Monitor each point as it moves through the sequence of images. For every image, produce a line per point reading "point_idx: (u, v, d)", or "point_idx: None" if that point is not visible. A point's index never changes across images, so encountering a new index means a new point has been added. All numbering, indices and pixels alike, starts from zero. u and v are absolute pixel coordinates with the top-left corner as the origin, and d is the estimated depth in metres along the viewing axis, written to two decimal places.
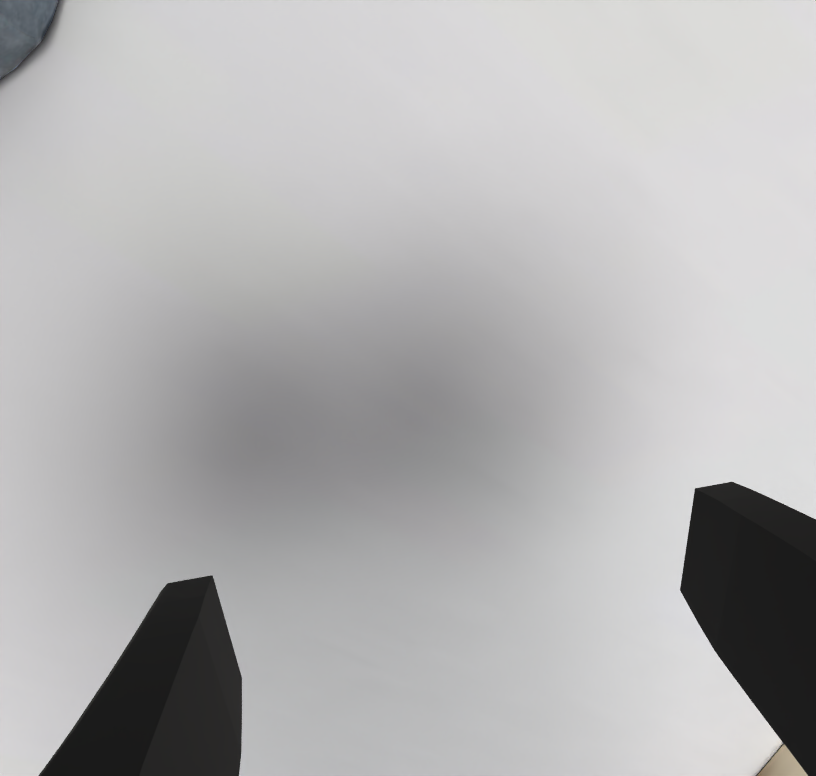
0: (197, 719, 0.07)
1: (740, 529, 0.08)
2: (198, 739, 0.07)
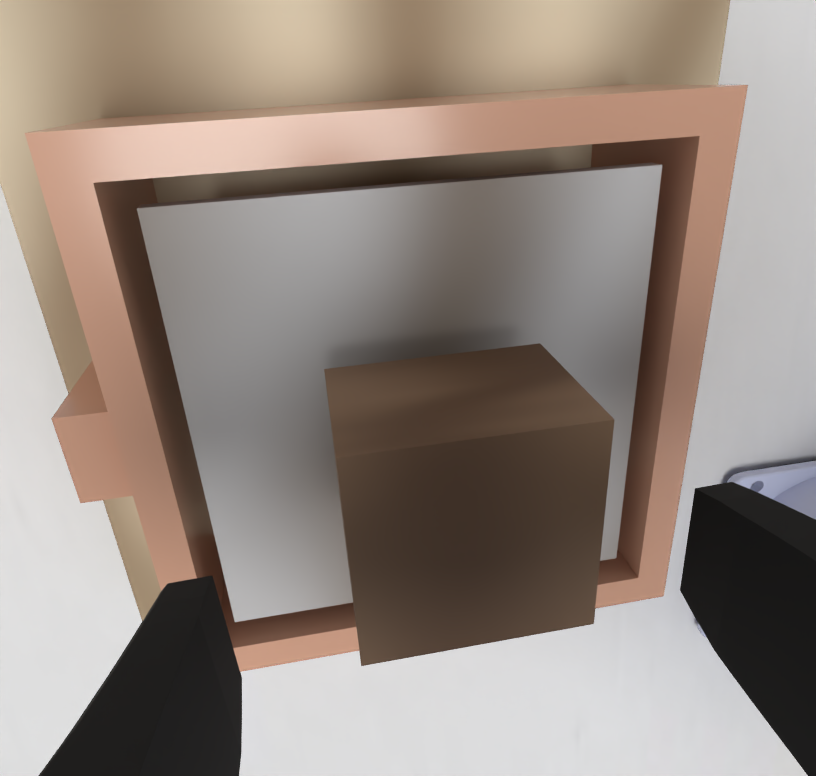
0: (197, 719, 0.07)
1: (740, 529, 0.08)
2: (198, 739, 0.07)
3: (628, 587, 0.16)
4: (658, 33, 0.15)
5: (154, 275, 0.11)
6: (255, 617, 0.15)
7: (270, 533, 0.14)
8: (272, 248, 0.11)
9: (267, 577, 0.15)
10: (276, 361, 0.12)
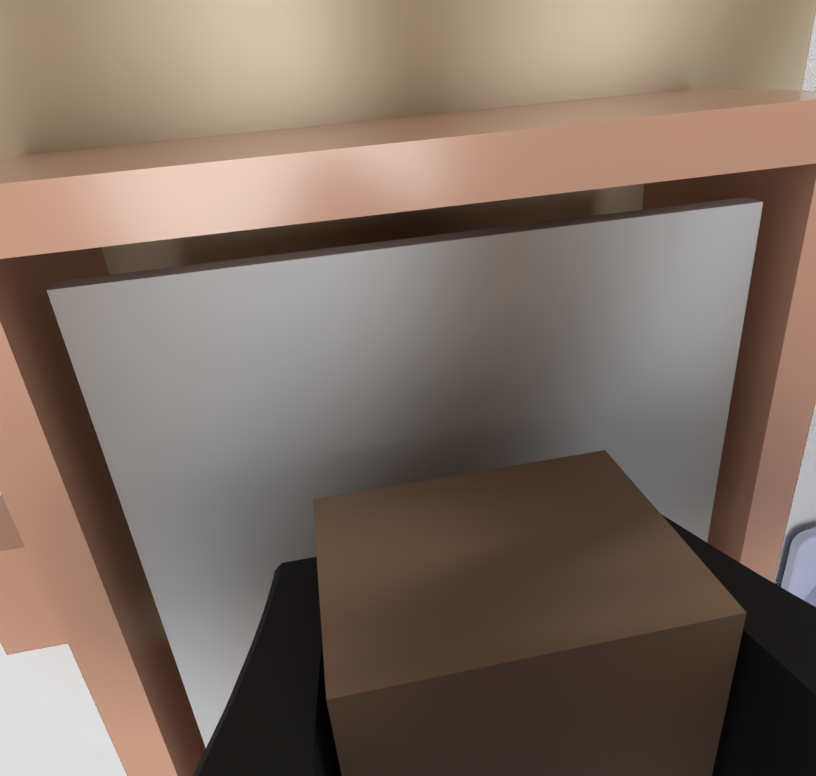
0: None
1: None
2: None
3: None
4: (730, 23, 0.12)
5: (79, 374, 0.08)
6: None
7: None
8: (239, 333, 0.08)
9: None
10: (251, 475, 0.09)
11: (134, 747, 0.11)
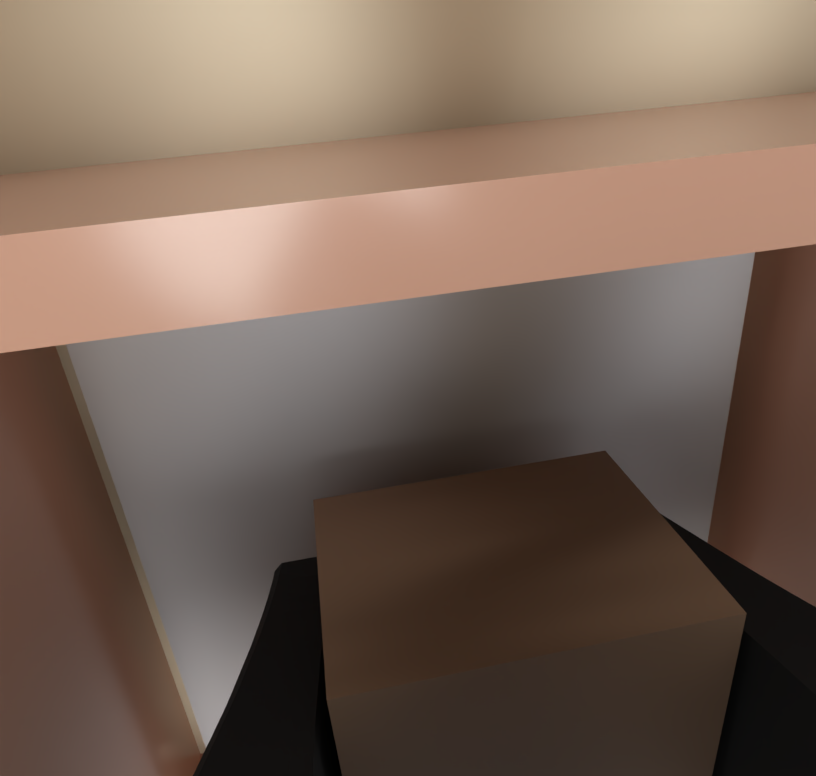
0: None
1: None
2: None
3: None
4: None
5: (79, 375, 0.08)
6: None
7: None
8: (239, 333, 0.08)
9: None
10: (251, 475, 0.09)
11: None
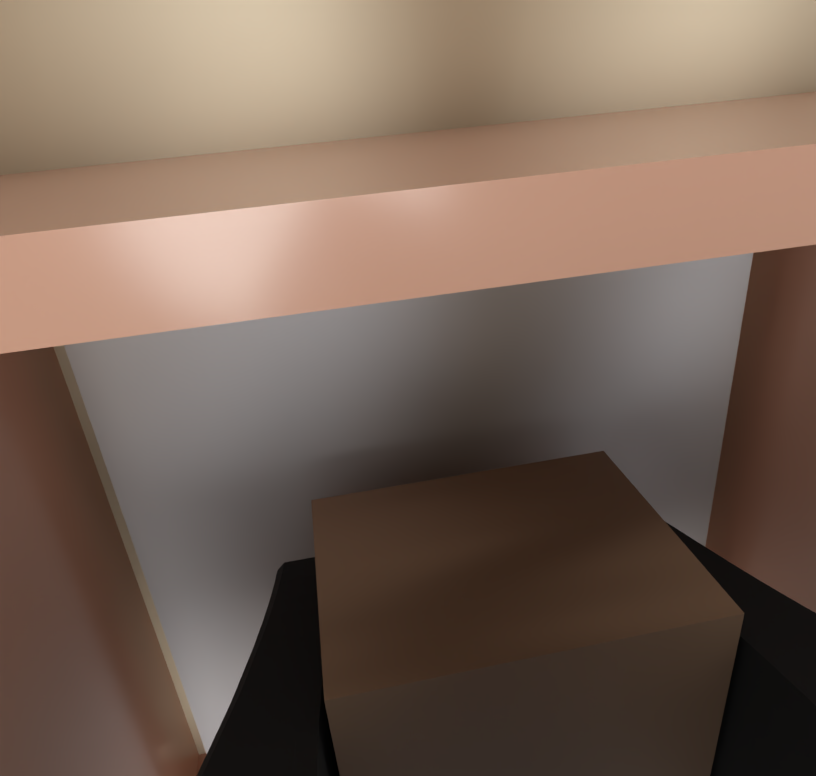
0: None
1: None
2: None
3: None
4: None
5: (77, 375, 0.08)
6: None
7: None
8: (237, 333, 0.08)
9: None
10: (250, 475, 0.09)
11: None
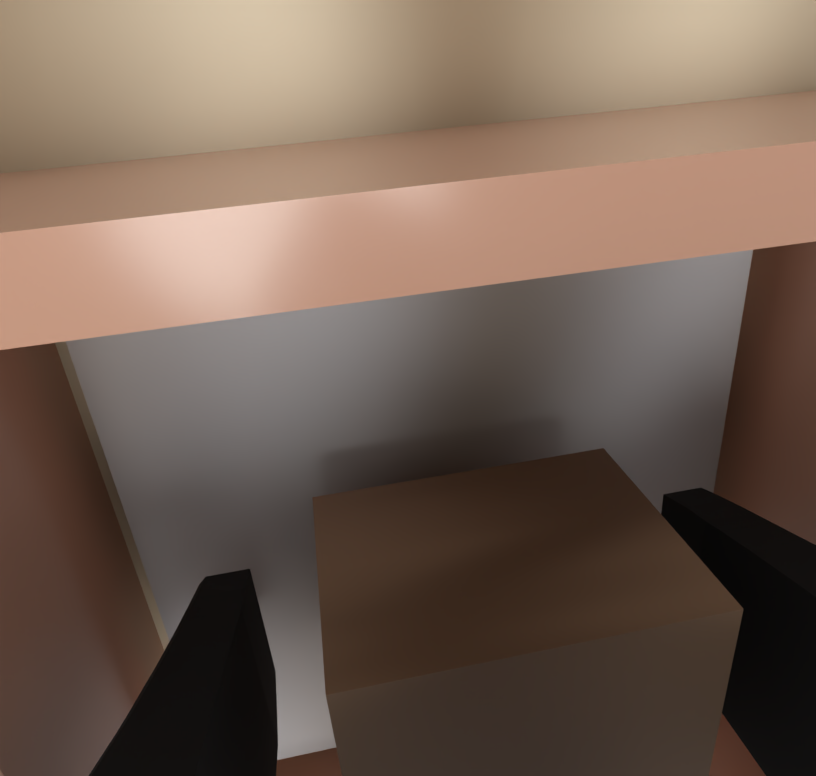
0: (242, 709, 0.07)
1: (705, 536, 0.08)
2: (243, 730, 0.07)
3: None
4: None
5: (79, 372, 0.08)
6: None
7: None
8: (239, 331, 0.08)
9: None
10: (251, 473, 0.09)
11: None
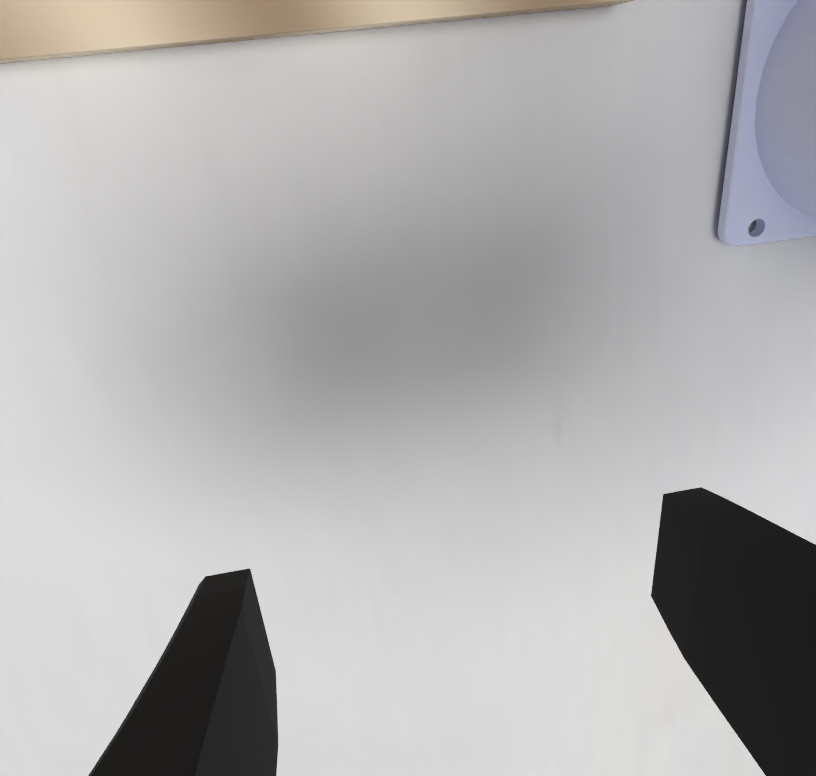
0: (242, 710, 0.07)
1: (705, 536, 0.08)
2: (243, 730, 0.07)
3: None
4: None
5: None
6: None
7: None
8: None
9: None
10: None
11: None
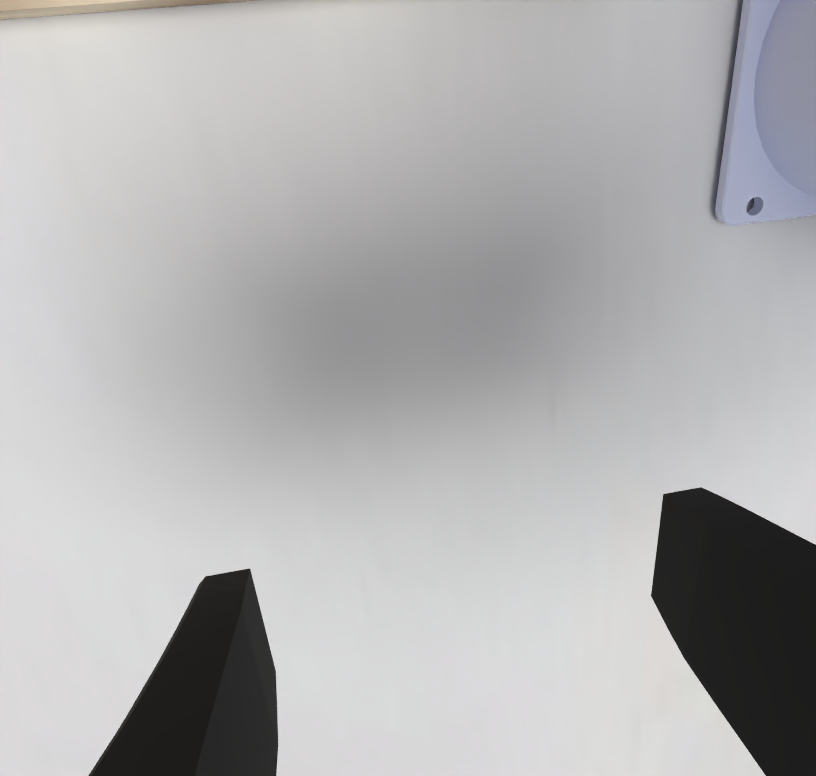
0: (242, 710, 0.07)
1: (705, 536, 0.08)
2: (244, 730, 0.07)
3: None
4: None
5: None
6: None
7: None
8: None
9: None
10: None
11: None
